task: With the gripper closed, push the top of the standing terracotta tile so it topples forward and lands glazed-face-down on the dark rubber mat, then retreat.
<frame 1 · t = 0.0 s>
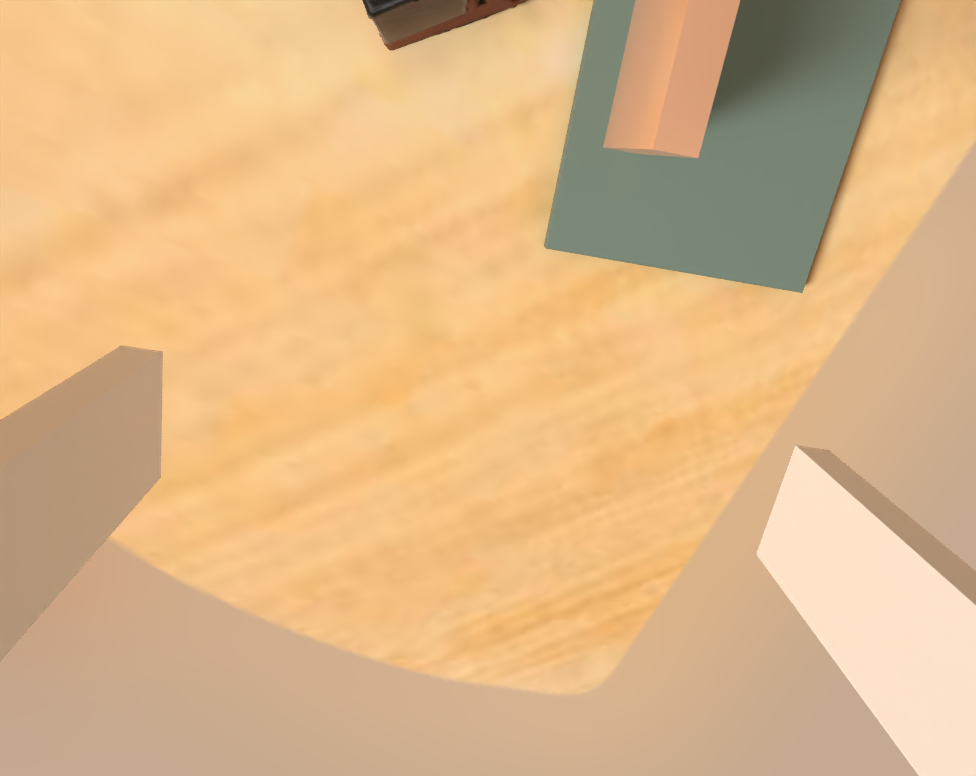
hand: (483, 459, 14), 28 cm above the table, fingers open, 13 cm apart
mat: (718, 92, 38), on the table
tile: (637, 73, 36), point 1 cm above the table, touching mat
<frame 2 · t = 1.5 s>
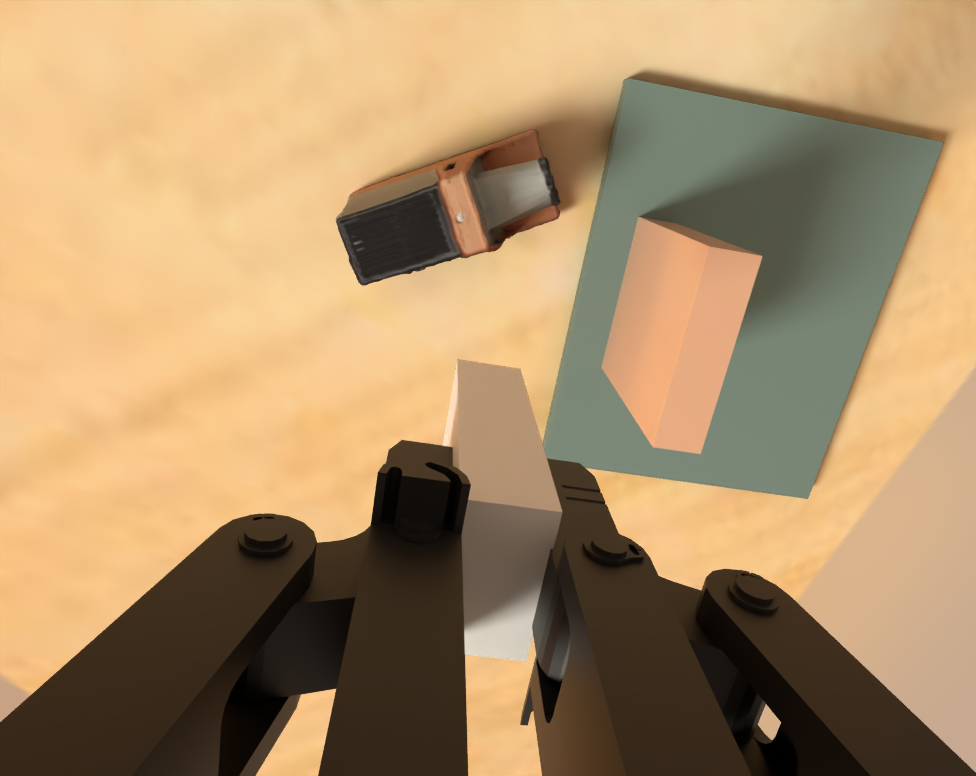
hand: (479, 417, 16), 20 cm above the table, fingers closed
mat: (721, 308, 36), on the table
tile: (637, 297, 35), point 1 cm above the table, touching mat
electronic device: (456, 203, 34), on the table
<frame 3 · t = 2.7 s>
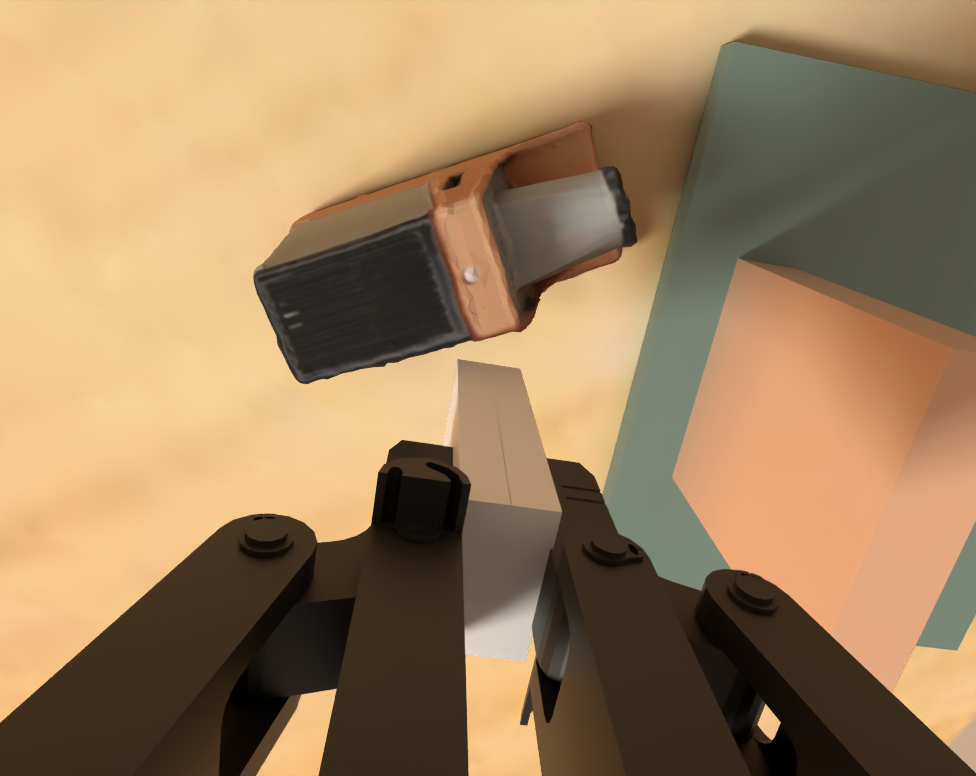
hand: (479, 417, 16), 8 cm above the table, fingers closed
mat: (849, 389, 25), on the table
tile: (730, 378, 23), point 1 cm above the table, touching mat
electronic device: (461, 234, 22), on the table, touching gripper
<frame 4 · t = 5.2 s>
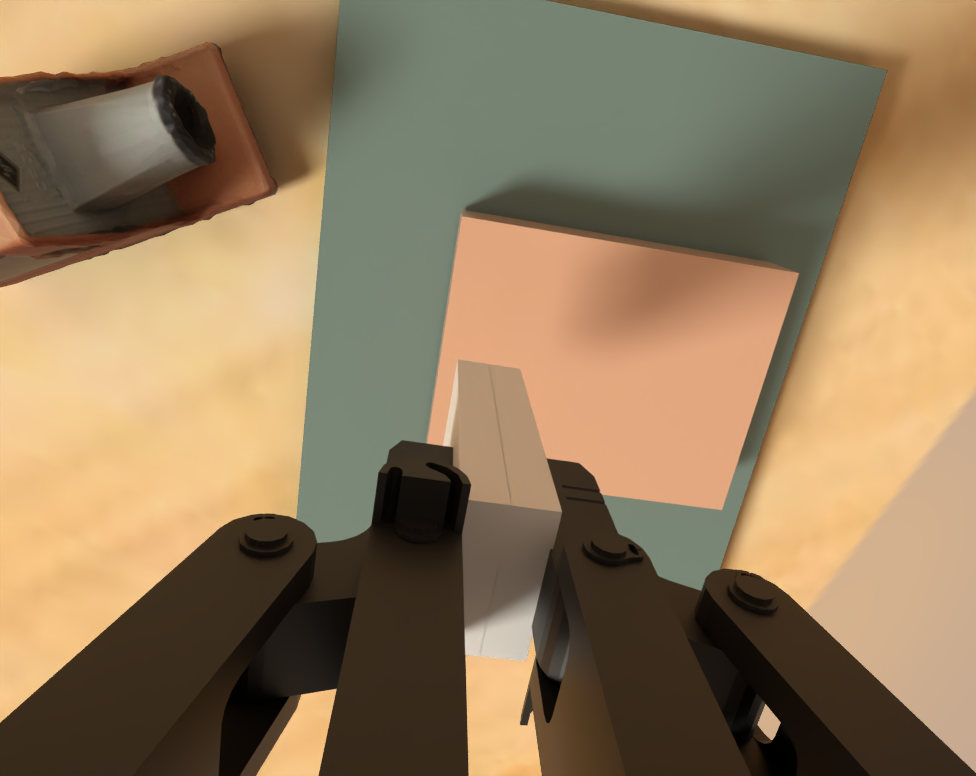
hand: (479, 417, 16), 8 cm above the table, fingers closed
mat: (552, 341, 23), on the table
tile: (441, 342, 21), point 2 cm above the table, tilted 90°, touching mat
electronic device: (121, 170, 21), on the table
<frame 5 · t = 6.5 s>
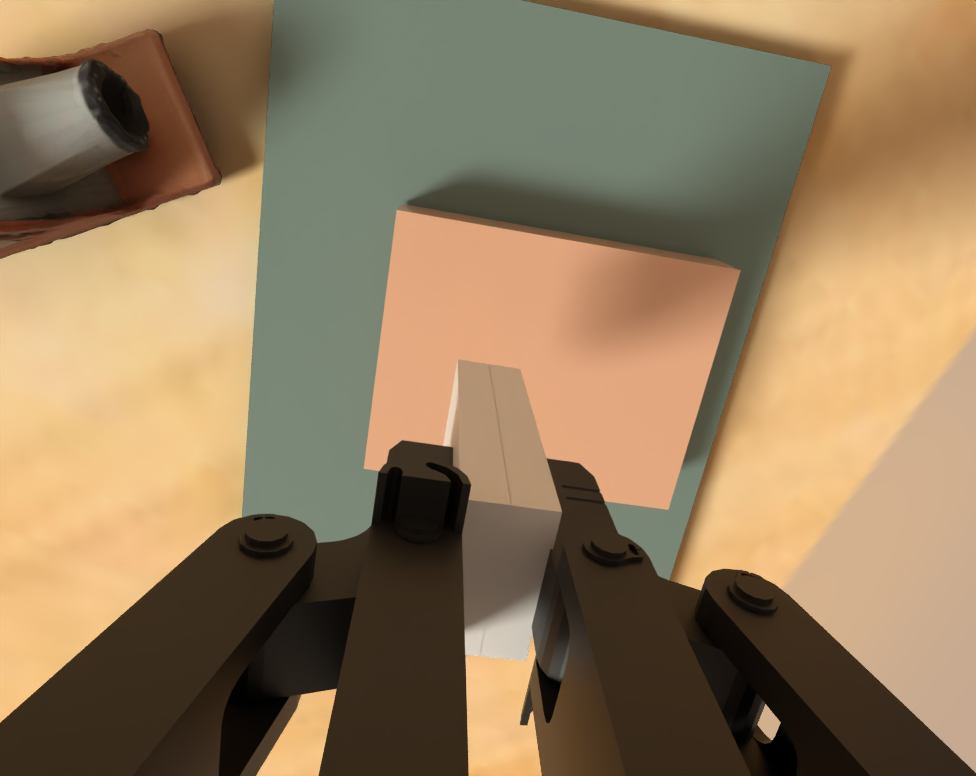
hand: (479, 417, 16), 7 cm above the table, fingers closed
mat: (500, 338, 23), on the table
tile: (382, 338, 21), point 2 cm above the table, tilted 90°, touching mat
electronic device: (65, 158, 21), on the table
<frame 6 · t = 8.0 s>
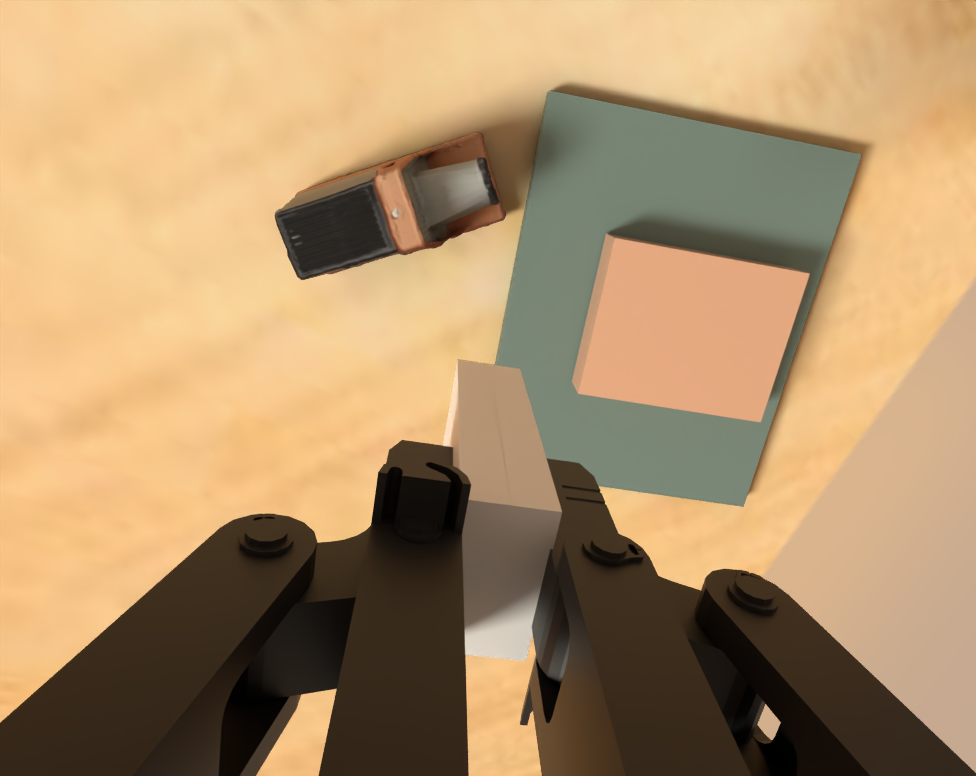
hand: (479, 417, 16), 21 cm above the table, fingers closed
mat: (652, 317, 37), on the table
tile: (591, 314, 34), point 2 cm above the table, tilted 90°, touching mat
electronic device: (404, 203, 35), on the table
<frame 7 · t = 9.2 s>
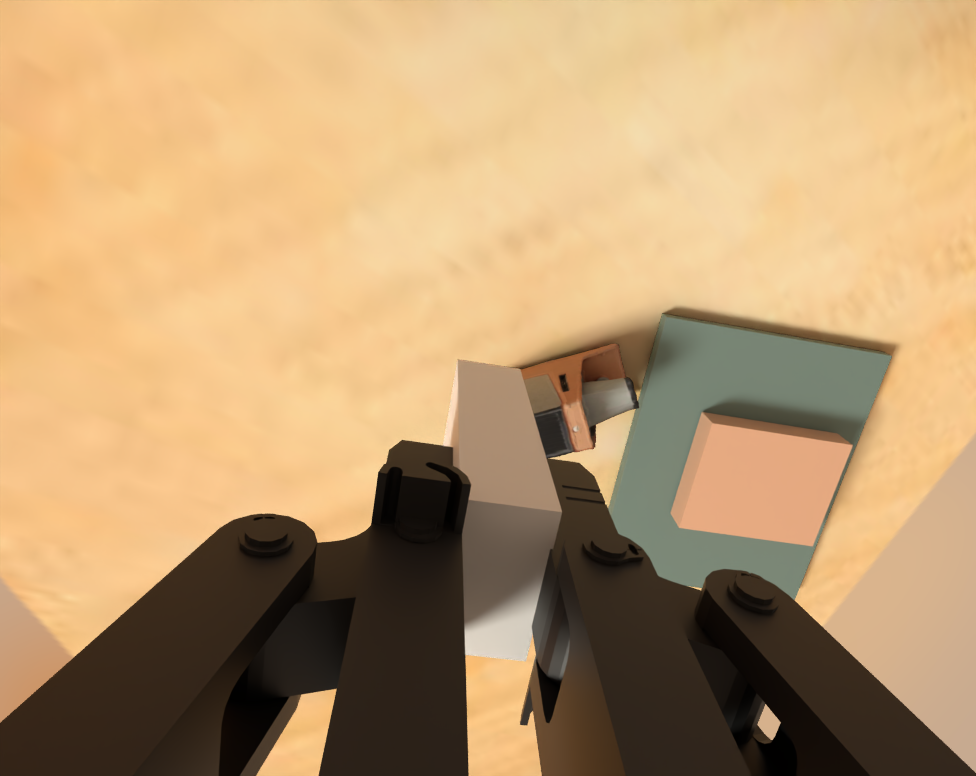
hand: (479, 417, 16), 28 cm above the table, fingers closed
mat: (730, 464, 49), on the table
tile: (690, 470, 47), point 2 cm above the table, tilted 90°, touching mat
electronic device: (554, 386, 47), on the table
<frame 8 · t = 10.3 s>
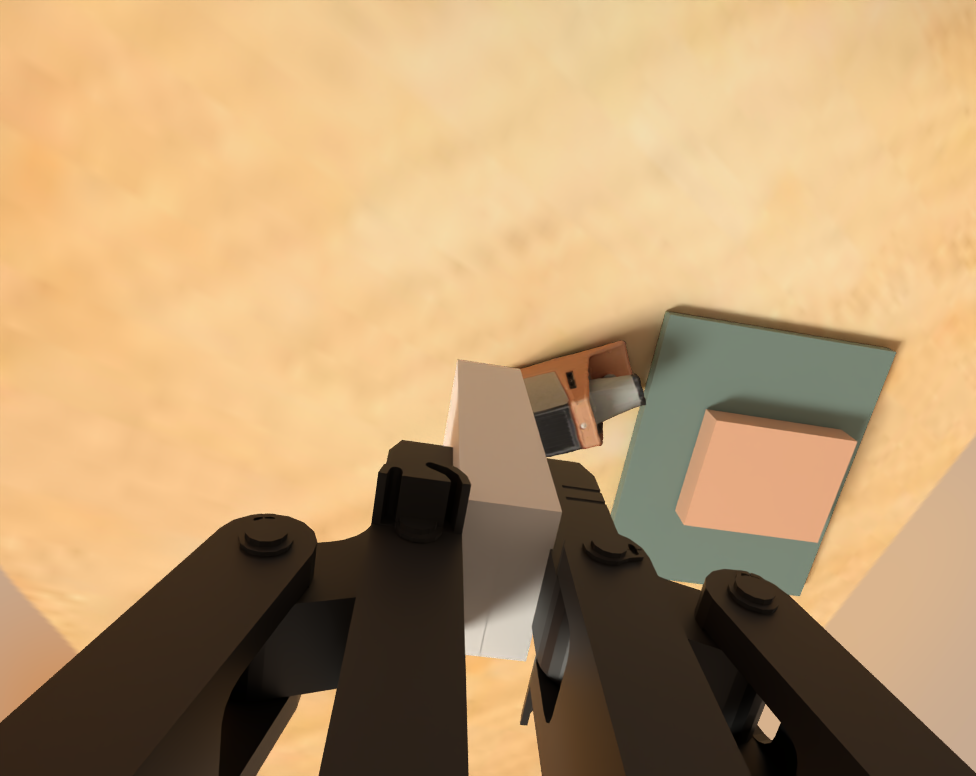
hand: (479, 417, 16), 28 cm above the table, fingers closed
mat: (735, 461, 49), on the table
tile: (694, 467, 47), point 2 cm above the table, tilted 90°, touching mat
electronic device: (561, 383, 47), on the table
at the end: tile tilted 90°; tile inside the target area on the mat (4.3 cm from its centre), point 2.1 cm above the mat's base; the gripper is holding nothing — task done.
